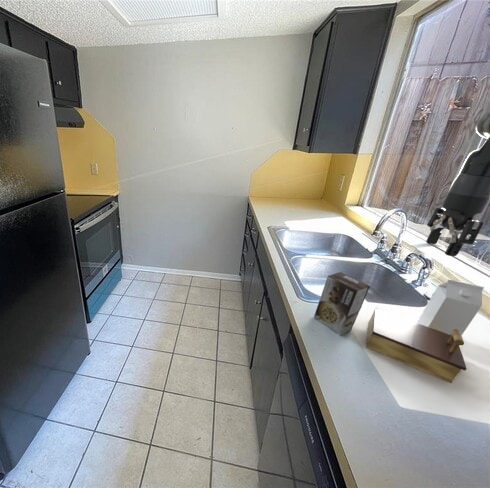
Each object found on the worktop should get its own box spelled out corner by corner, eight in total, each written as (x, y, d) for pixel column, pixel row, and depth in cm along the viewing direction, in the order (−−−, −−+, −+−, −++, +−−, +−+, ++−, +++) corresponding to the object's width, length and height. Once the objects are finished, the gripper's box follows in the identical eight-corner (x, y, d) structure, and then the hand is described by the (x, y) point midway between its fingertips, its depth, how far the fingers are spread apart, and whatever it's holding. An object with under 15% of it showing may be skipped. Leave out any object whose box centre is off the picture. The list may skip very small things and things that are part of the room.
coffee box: (352, 329, 80) (372, 286, 73) (339, 335, 77) (358, 291, 71) (325, 312, 87) (340, 271, 81) (312, 316, 85) (327, 274, 78)
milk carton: (415, 324, 84) (444, 273, 76) (445, 332, 80) (478, 281, 73) (421, 337, 78) (453, 285, 70) (453, 347, 75) (490, 293, 67)
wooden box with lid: (443, 350, 74) (451, 338, 72) (451, 383, 64) (461, 369, 62) (368, 322, 83) (374, 310, 81) (365, 346, 74) (371, 333, 72)
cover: (455, 339, 71) (464, 324, 69) (465, 370, 61) (477, 355, 59) (374, 310, 81) (380, 296, 79) (371, 333, 72) (379, 319, 70)
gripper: (513, 200, 59) (475, 262, 66) (467, 188, 72) (439, 241, 78) (472, 197, 61) (439, 257, 68) (434, 186, 74) (410, 238, 80)
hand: (439, 249), depth 73 cm, fingers open, 8 cm apart
